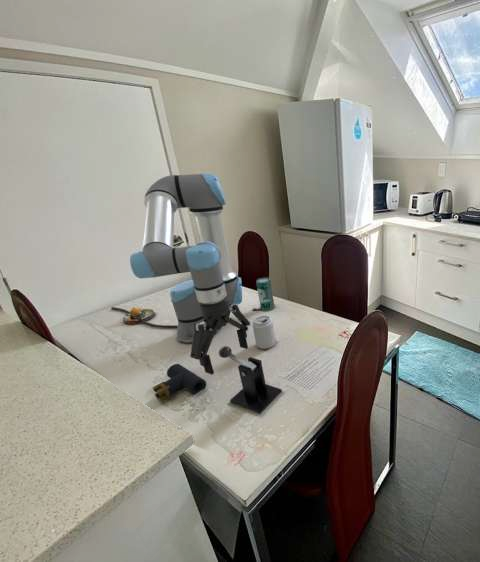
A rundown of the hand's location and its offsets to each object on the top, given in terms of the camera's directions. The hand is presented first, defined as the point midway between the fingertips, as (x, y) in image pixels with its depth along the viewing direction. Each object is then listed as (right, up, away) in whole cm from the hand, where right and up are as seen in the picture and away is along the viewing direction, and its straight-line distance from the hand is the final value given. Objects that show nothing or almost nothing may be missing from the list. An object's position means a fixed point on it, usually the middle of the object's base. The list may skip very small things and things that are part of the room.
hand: (228, 359), depth 98 cm
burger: (-65, +7, +50) cm, 82 cm away
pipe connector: (-19, -12, +5) cm, 23 cm away
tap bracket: (+8, -13, +2) cm, 16 cm away
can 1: (-7, +11, +58) cm, 59 cm away
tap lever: (+3, -1, -1) cm, 4 cm away
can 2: (+2, -1, +28) cm, 29 cm away
